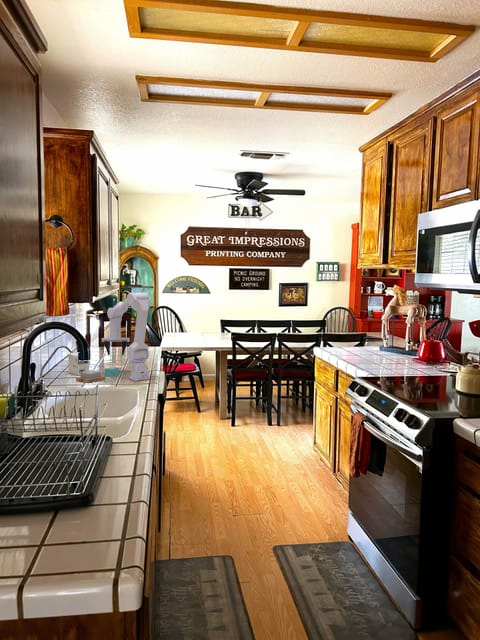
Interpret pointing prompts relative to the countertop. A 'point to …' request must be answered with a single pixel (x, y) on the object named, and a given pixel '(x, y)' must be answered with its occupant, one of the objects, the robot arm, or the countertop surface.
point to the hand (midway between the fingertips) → (116, 354)
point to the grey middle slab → (90, 374)
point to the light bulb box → (77, 364)
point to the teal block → (111, 371)
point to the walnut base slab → (90, 379)
